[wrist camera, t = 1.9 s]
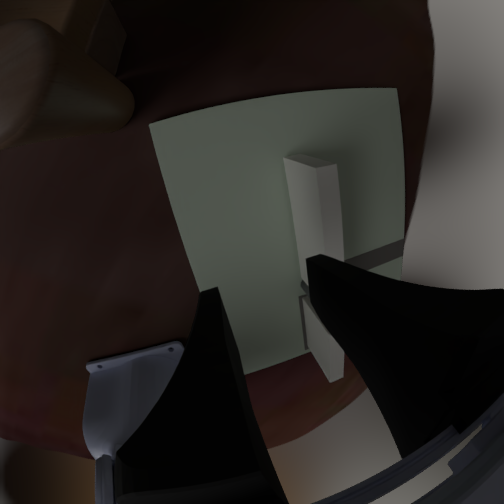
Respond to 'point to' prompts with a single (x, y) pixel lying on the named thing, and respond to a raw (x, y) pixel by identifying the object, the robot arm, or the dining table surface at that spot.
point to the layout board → (280, 201)
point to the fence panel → (315, 208)
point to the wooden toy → (60, 70)
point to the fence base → (322, 341)
